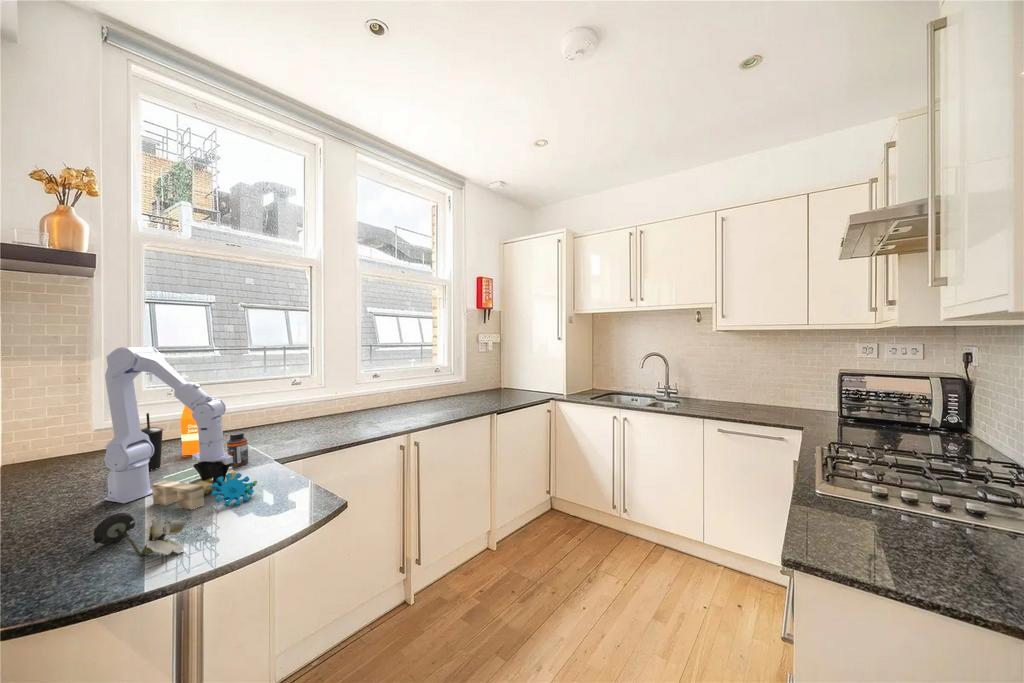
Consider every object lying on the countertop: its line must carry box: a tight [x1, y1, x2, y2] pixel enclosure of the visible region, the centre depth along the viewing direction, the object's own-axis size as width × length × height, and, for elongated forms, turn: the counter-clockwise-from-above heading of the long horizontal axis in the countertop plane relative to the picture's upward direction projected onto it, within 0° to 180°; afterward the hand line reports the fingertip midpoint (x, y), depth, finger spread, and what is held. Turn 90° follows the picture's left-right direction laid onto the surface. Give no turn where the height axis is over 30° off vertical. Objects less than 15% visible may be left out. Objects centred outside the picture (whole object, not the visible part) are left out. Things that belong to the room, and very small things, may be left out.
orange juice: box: [180, 405, 199, 456], centre depth 152 cm, size 8×9×20 cm
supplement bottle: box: [226, 431, 249, 468], centre depth 136 cm, size 6×6×11 cm
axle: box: [195, 469, 239, 496], centre depth 113 cm, size 12×4×4 cm, turn 162°
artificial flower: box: [92, 512, 189, 557], centre depth 83 cm, size 9×22×10 cm, turn 66°
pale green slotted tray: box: [162, 467, 234, 484], centre depth 119 cm, size 13×12×4 cm
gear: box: [210, 472, 258, 507], centre depth 106 cm, size 11×6×10 cm
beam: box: [151, 480, 205, 511], centre depth 105 cm, size 16×3×5 cm, turn 71°
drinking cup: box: [141, 412, 164, 470], centre depth 134 cm, size 8×8×20 cm
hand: (214, 485), depth 113 cm, fingers closed on axle, 4 cm apart
